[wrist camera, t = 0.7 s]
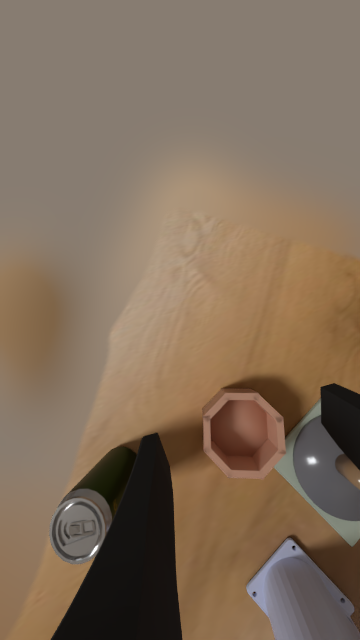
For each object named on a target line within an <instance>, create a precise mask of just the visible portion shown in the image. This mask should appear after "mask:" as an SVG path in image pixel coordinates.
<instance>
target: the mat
mask: <svg viewBox="0 0 360 640" xmlns="http://www.w3.org/2000/svg"><path fill="white" fill-rule="evenodd" d="M319 415H321V398H320V399H319V401H318V402H317V403H316V404H315V405H314V406H313V407H312V408H311V409H310V411H309V412H308V413H307V414H306V415H305V416H304V417H303V418H302V419H301V421H300V422H299V423H298V424H297V425H296V426H295V427H294V428H293V429H292V431H291V432H290V433H289V434H288V435H287V436H286V437H285V447H286V454H285V455H284V456H283V457H282V458H281V459H280V461H279V462H278V463H277V464H276V465H275V466H274V468H275V469H276V470H277V471H278V472H279V473H280V474H281V475H282V476H283V477H284V478H285V479H286V480H287V481H288V482H289V483H290V484H291V485H292V486H293V487H294V488H295V489H296V490H297V491H298V492H299V493H300V494H301V495H302V497H303V498H304V499H305V500H306V501H307V502H308V503H309V504H310V505H311V506H312V507H313V508H314V509H315V510H316V511H317V512H318V513H319V514H320V515H321V516H322V517H323V518H324V519H325V520H326V521H327V522H328V523H329V524H330V525H331V526H332V527H333V528H334V529H335V530H336V531H337V532H338V533H339V534H340V535H341V536H342V537H343V538H344V539H345V540H346V542H347V543H348V544H349V545H350V546H351V547H353V546H354V545H355V543H356V542H357V541H358V540H359V539H360V521H347V520H342V519H339V518H336V517H334V516H331V515H329V514H328V513H326V512H324V511H323V510H322V509H320V508H319V507H318V506H317V505H316V504H314V503H313V501H312V500H311V499H310V498H309V497H308V496H307V494H306V493H305V492H304V490H303V489H302V487H301V485H300V483H299V482H298V479H297V477H296V474H295V470H294V465H293V448H294V444H295V440H296V438H297V436H298V434H299V432H300V430H301V429H302V428H303V427H304V425H305V424H307V423H308V422H309V421H310V420H312V419H313V418H315V417H317V416H319Z"/></svg>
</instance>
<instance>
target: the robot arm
mask: <svg viewBox="0 0 360 640" xmlns="http://www.w3.org/2000/svg"><path fill="white" fill-rule="evenodd" d="M321 424H322V425H323V426H324V428H325V429H326V431H327V432H328V433H329V435H330V436H331V438H332V439H333V440H334V442H335V443H336V444H337V446H338V447H339V448H340V449H341V450H342V451H343V453H344V454H345V455H346V456H347V457H348V458H349V459H350V460H351V461H352V463H353V464H354V465H355V466H356V467H357V468H358V469H359V470H360V394H358V393H355V392H353V391H351V390H349V389H346V388H344V387H342V386H340V385H337V384H335V383H333V384H330V385H326V386H323V387H321ZM292 546H295V548H292ZM246 588H247V592H248V594H249V595H250V596H251V597H252V598H253V600H254V601H255V602H256V603H257V604H258V605H259V607H260V608H261V609H262V610H263V611H264V612H265V614H266V615H267V616H268V617H269V618H270V622H271V625H272V629H273V633H274V636H275V640H360V632H359V630H358V629H357V627H356V625H355V624H354V622H353V620H352V619H351V617H350V616H351V615H352V613H353V612H354V606H353V604H352V603H351V601H350V600H349V599H348V598H347V597H346V596H345V595H344V594H343V593H342V592H341V591H340V590H339V589H338V588H337V586H336V585H335V584H334V583H333V582H332V581H331V580H330V579H329V578H328V577H327V576H326V575H325V574H324V572H323V571H322V570H321V569H320V568H319V567H318V566H317V565H316V564H315V563H314V562H313V561H312V560H311V559H310V557H309V556H308V555H307V554H306V553H305V552H304V551H303V550H302V549H301V548H300V547H299V546H298V545H297V543H296V542H295V541H294V540H293V539H292V538H287V539H286V540H285V541H284V542H283V543H282V545H281V546H280V547H279V548H278V549H277V550H276V552H275V553H274V554H273V555H272V556H271V557H270V559H269V560H268V561H267V562H266V563H265V564H264V565H263V567H262V568H261V569H260V570H259V571H258V572H257V574H256V575H255V576H254V577H253V578H252V579H251V581H250V582H249V583H248V584H247V587H246ZM253 592H256V593H255V594H253ZM341 598H343V599H342V600H340V599H341ZM51 640H182V631H181V622H180V612H179V602H178V592H177V580H176V561H175V531H174V502H173V489H172V480H171V473H170V466H169V463H168V460H167V457H166V455H165V452H164V449H163V446H162V444H161V441H160V438H159V435H158V433H154V434H151V435H147V436H144V437H143V438H142V440H141V443H140V447H139V450H138V453H137V457H136V460H135V463H134V466H133V469H132V472H131V474H130V477H129V480H128V483H127V485H126V488H125V491H124V493H123V496H122V498H121V501H120V503H119V506H118V508H117V510H116V513H115V515H114V518H113V520H112V522H111V525H110V527H109V529H108V531H107V534H106V536H105V538H104V540H103V542H102V545H101V547H100V549H99V551H98V553H97V555H96V557H95V559H94V561H93V563H92V565H91V567H90V569H89V571H88V573H87V575H86V577H85V579H84V581H83V582H82V584H81V586H80V588H79V590H78V592H77V594H76V596H75V598H74V600H73V601H72V603H71V605H70V607H69V609H68V611H67V612H66V614H65V616H64V618H63V619H62V621H61V623H60V625H59V626H58V628H57V630H56V631H55V633H54V635H53V637H52V638H51Z"/></svg>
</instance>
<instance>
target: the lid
mask: <svg viewBox="0 0 360 640" xmlns="http://www.w3.org/2000/svg"><path fill="white" fill-rule="evenodd" d="M293 465H294V470H295V474H296V477H297V479H298V482H299V483H300V485H301V487H302V489H303V490H304V492H305V493H306V494H307V496H308V497H309V498H310V499H311V500H312V501H313V503H314V504H316V505H317V506H318V507H319V508H320V509H322V510H323V511H324V512H326V513H328V514H329V515H331V516H334V517H336V518H339V519H342V520H347V521H360V470H359V469H358V468H357V467H356V466H355V465H354V464H353V463H352V461H351V460H350V459H349V458H348V457H347V456H346V455H345V454H344V453H343V451H342V450H341V449H340V448H339V447H338V446H337V444H336V443H335V442H334V440H333V439H332V438H331V436H330V435H329V433H328V432H327V431H326V429H325V428H324V426H323V425H322V424H321V415H319V416H317V417H315V418H313V419H312V420H310V421H309V422H308V423H307V424H305V425H304V427H303V428H302V429H301V430H300V432H299V434H298V436H297V438H296V440H295V444H294V448H293Z"/></svg>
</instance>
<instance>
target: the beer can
mask: <svg viewBox="0 0 360 640" xmlns="http://www.w3.org/2000/svg"><path fill="white" fill-rule="evenodd" d="M136 457H137V455H136V453H135V452H134V451H133V450H131V449H129V448H126V447H117V448H114V449H112V450H111V451H109V452H108V453H107V454H106V455H105V456H104V457H103V458H102V459H101V460H100V461H99V462H98V463H97V464H96V465H95V466H94V467H93V468H92V469H91V470H90V472H89V473H88V474H87V475H86V476H85V477H84V478H83V479H82V480H81V481H80V482H79V483H78V484H77V485H76V486H75V487H74V488H73V489H72V490H71V491H70V492H69V493H68V494H67V495H66V496H65V497H64V498H63V500H62V501H61V503H60V504H59V506H58V508H57V510H56V512H55V513H54V515H53V517H52V520H51V523H50V532H49V536H50V541H51V545H52V547H53V549H54V551H55V553H56V554H57V555H58V556H59V557H60V558H61V559H62V560H63V561H65V562H68V563H70V564H82V563H85V562H88V561H90V560H91V559H92V558H93V557H94V556H96V555H97V553H98V551H99V549H100V547H101V545H102V542H103V540H104V538H105V536H106V534H107V531H108V529H109V527H110V525H111V522H112V520H113V518H114V515H115V513H116V510H117V508H118V506H119V503H120V501H121V498H122V496H123V493H124V491H125V488H126V485H127V483H128V480H129V477H130V474H131V472H132V469H133V466H134V463H135V460H136Z"/></svg>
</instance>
